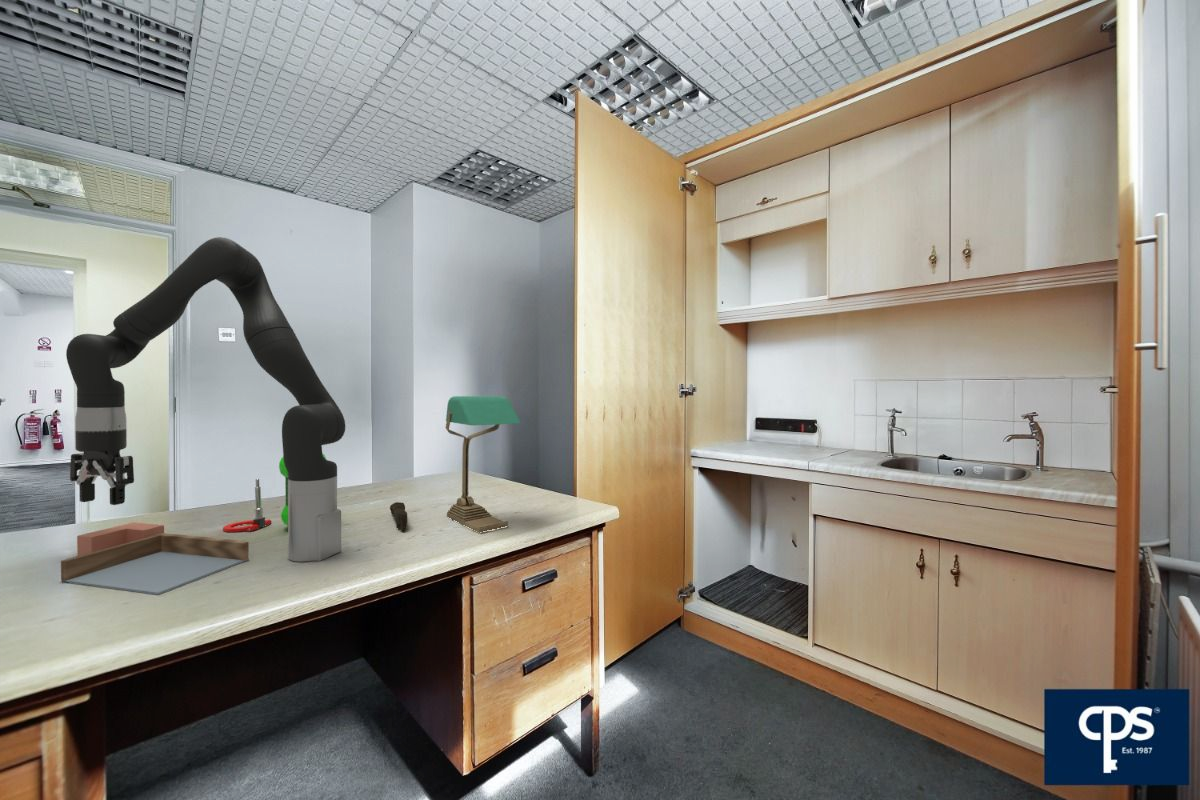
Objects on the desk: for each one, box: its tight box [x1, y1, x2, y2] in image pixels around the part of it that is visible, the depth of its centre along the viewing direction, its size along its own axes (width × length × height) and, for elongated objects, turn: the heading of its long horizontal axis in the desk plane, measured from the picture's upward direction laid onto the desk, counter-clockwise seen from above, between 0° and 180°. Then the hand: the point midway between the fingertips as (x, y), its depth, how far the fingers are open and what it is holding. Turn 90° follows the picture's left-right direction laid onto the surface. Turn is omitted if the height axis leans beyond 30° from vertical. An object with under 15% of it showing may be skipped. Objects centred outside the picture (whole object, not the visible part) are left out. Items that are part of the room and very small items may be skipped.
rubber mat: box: [60, 551, 249, 596], centre depth 93 cm, size 23×17×1 cm
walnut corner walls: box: [60, 532, 250, 583], centre depth 93 cm, size 23×17×4 cm
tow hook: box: [222, 478, 272, 533], centre depth 121 cm, size 8×13×9 cm
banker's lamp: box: [445, 395, 522, 534], centre depth 128 cm, size 16×21×35 cm
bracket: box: [76, 521, 165, 556], centre depth 102 cm, size 9×10×5 cm
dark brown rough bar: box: [389, 501, 408, 533], centre depth 127 cm, size 19×4×5 cm, turn 25°
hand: (102, 502), depth 100 cm, fingers open, 8 cm apart
